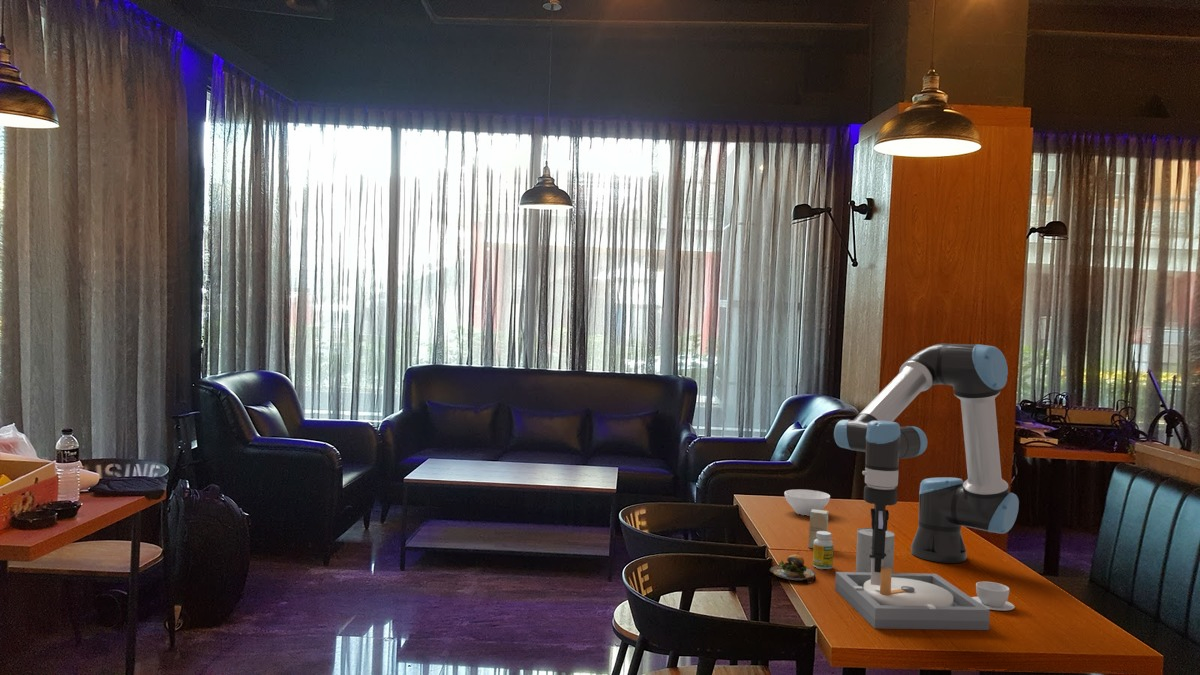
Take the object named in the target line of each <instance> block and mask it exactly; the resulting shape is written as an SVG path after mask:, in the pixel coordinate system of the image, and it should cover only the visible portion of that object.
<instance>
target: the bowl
mask: <svg viewBox="0 0 1200 675" xmlns="http://www.w3.org/2000/svg"><path fill="white" fill-rule="evenodd" d="M783 494H784V498H785V500H786V502H787V503H788V505H790V506H791V508H792V509H793V510H794V512H795V513H796V514H797V515H799V514H801V515H800V516H804V515H807V517H810V512H811V510H812V509H816V510H824V508H825V507H826V506H827V505H828V504H829V502H830V499H831V495H830V494H829V493H827V492H824V491H820V490H813V489H800V488H799V489H788V490H785V491H784V493H783Z"/></svg>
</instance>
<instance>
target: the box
mask: <svg viewBox="0 0 1200 675" xmlns="http://www.w3.org/2000/svg"><path fill="white" fill-rule="evenodd" d="M828 526H829V510H824V509H822V510H816V509H812V510H811V512H810V516H809V528H808V529H809V530H808V546H807V547H808V548H810V549H813V545H814V540H815V539H817V537H816V532H818V531H826V532H828V529H829V528H828Z"/></svg>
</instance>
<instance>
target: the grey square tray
mask: <svg viewBox="0 0 1200 675" xmlns="http://www.w3.org/2000/svg"><path fill="white" fill-rule="evenodd" d="M891 577H896V578H907V579H913V580H919V581H923V582H927V583H931V584H934V585H937V586H939V587H942V588H944V589H946V590H947V591H949V592H950V593H951V594H952V595H953V606H933V605H932V604H926V606H897V605H880V604H879V603H878V602H876V601H875V600H874V599H873V598H872V597H871V596H870V595H869V594H867V593H866V592H865V591H864V583H865V582H866V581H868V580H870V579H871V573H870V572H856V571H854V572H853V571H835V580H834V581H835V582H834V590H835V591H836V592H837V593H838V594H839V595H840V596H841V597H842V598H843V600H845V601H846V602H847V603H848V604H849V605H850V606H851V607H852V608H853V609H854V610H855V611H856V612H857V613H858V614H859V615H860V616H861V617H862V618H863V619H864V620H866V622H867V623H868V624H869V625H870V626H871V627H872V628H874V629H884V630H885V629H886V630H887V629H889V630H890V629H892V630H894V629H896V630H897V629H899V630H952V631H953V630H957V631H959V630H961V631H964V630H965V631H966V630H968V631H990V614H991V612H990V611H991V609H987V608H986V607H984V606H983V605H982V604H980V603H979V602H977V601H976V600H974V599H973V598H972V597H971V596H970V595H969V594H967V593H965V592H964V591H962V590H961V589H959V588H958V587H957V586H955V585H953V584H952V583H951V582H949V581H948V580H946V579H944V578H943V577H942V576H940V575H939V574H938V573H928V572H927V573H924V572H923V573H922V572H921V573H919V572H917V573H916V572H915V573H913V572H893V573H892V574H891Z"/></svg>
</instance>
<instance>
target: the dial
mask: <svg viewBox="0 0 1200 675" xmlns="http://www.w3.org/2000/svg"><path fill="white" fill-rule="evenodd" d="M891 574H892V569H891V568H889V567H881V577H880V586H879V585H871V579H870V580H868V581H866V582H865V583H864V591H865V592H866V593H867V594H869V595H870V596H871V597H872V598H873V599H874V600H875V601H876V602H878V603H879V604H880V605H897V606H926V604H932V605H933V606H953V595H952V594H951V593H950V592H949V591H947V590H946V589H944V588H942V587H939V586H937V585H934V584H931V583H927V582H923V581H919V580H913V579H907V578H896V577H891Z"/></svg>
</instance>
